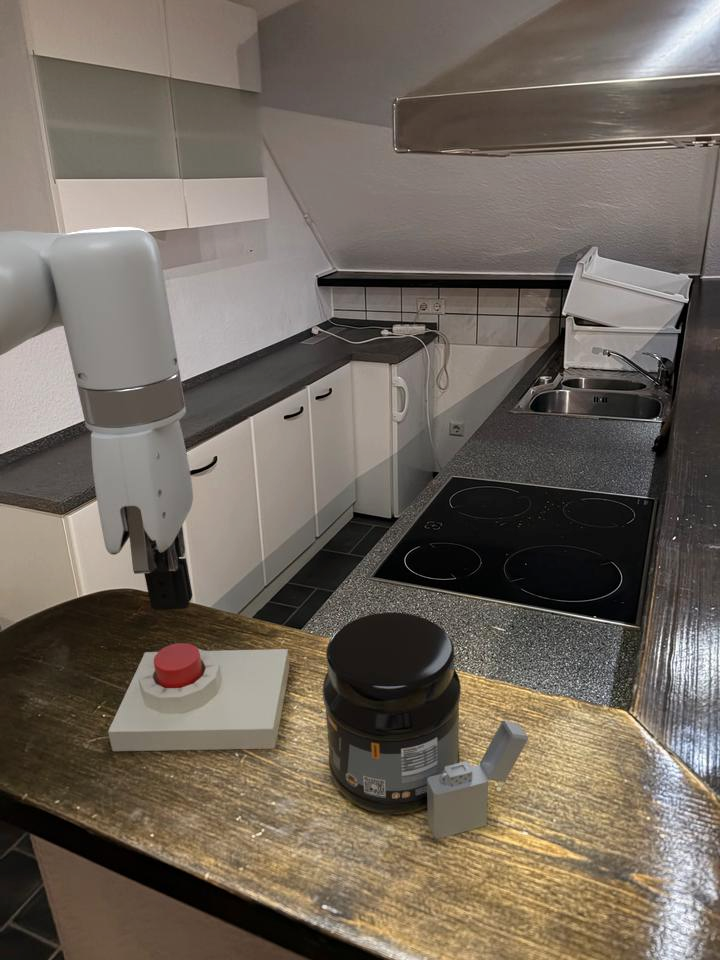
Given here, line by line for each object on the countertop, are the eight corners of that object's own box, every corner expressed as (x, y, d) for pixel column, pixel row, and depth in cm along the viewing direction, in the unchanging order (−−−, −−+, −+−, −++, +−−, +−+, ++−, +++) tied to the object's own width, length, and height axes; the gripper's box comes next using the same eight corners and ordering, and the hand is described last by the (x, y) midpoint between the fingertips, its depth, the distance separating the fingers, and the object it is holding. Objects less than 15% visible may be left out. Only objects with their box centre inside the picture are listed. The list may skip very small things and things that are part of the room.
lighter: (435, 839, 55) (434, 754, 52) (426, 821, 57) (425, 737, 54) (524, 815, 57) (529, 731, 54) (514, 798, 58) (518, 715, 55)
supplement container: (371, 709, 68) (366, 594, 63) (480, 750, 63) (483, 629, 58) (303, 788, 60) (291, 664, 55) (422, 843, 55) (420, 711, 50)
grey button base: (112, 751, 65) (103, 714, 63) (148, 670, 75) (141, 636, 73) (275, 749, 64) (271, 711, 63) (289, 667, 74) (286, 633, 73)
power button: (151, 690, 67) (147, 671, 66) (163, 661, 70) (160, 643, 69) (196, 689, 66) (193, 670, 66) (206, 660, 70) (203, 642, 69)
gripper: (116, 375, 65) (153, 562, 72) (45, 436, 51) (100, 659, 59) (203, 370, 65) (231, 559, 72) (154, 430, 51) (196, 656, 58)
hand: (172, 603), depth 65 cm, fingers closed
